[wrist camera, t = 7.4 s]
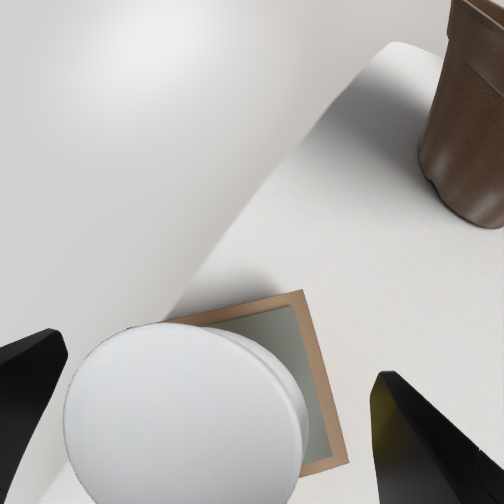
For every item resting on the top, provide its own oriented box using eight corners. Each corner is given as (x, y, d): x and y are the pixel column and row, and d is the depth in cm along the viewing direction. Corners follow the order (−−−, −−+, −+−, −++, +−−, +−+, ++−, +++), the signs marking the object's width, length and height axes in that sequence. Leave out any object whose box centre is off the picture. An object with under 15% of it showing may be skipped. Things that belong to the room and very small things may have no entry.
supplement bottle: (307, 375, 14) (381, 364, 5) (263, 474, 12) (258, 597, 3) (200, 333, 15) (105, 255, 6) (158, 429, 13) (22, 469, 4)
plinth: (178, 481, 15) (162, 498, 12) (146, 336, 19) (124, 327, 16) (337, 451, 15) (350, 464, 12) (297, 302, 19) (303, 287, 16)
